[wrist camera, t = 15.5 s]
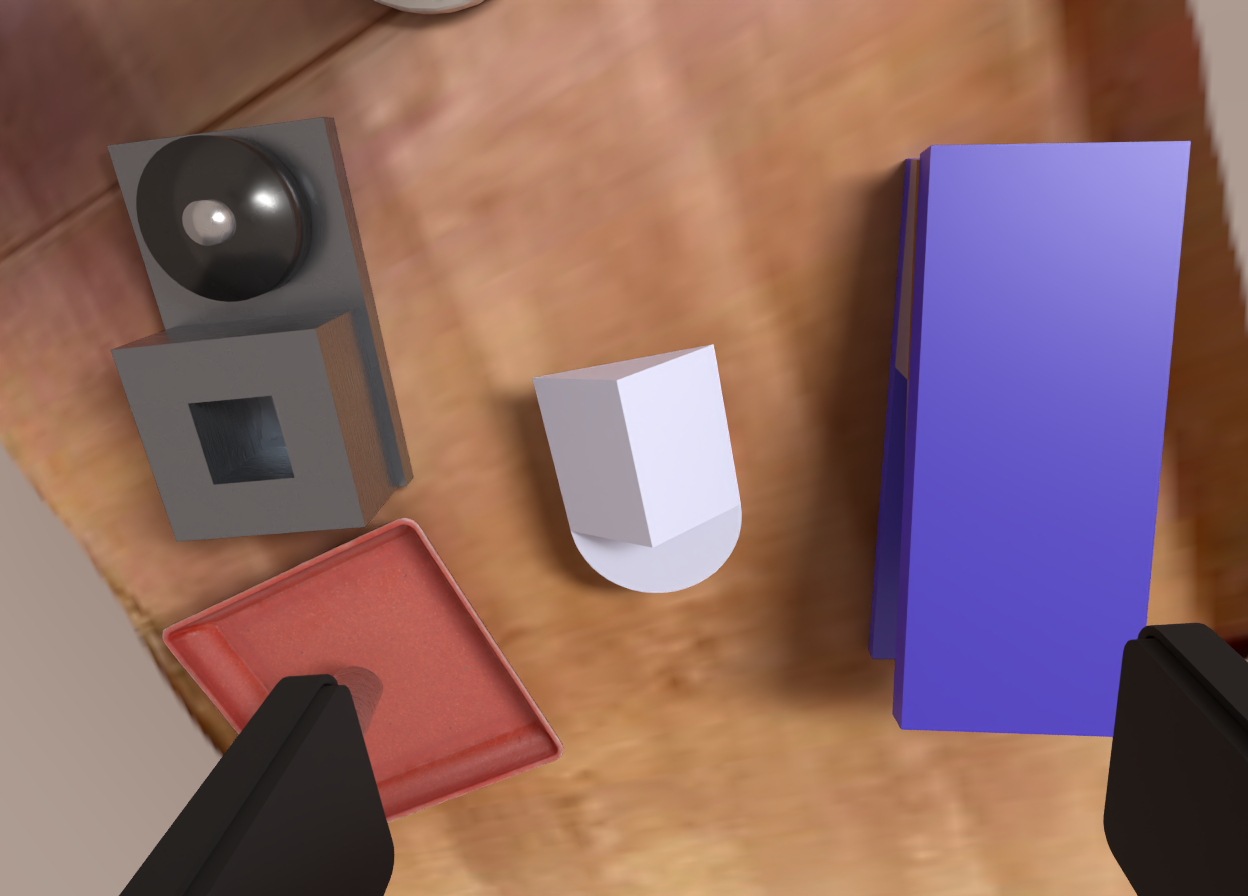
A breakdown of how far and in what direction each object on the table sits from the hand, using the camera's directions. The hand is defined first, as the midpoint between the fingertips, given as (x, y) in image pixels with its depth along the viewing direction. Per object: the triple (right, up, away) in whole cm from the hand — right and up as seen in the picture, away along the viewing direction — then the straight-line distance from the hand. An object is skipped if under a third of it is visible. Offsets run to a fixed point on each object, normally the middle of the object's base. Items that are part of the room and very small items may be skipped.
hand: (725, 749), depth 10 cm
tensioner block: (-20, +10, +33) cm, 40 cm away
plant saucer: (-16, -10, +41) cm, 46 cm away
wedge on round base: (0, +3, +35) cm, 35 cm away
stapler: (+18, +5, +33) cm, 38 cm away
